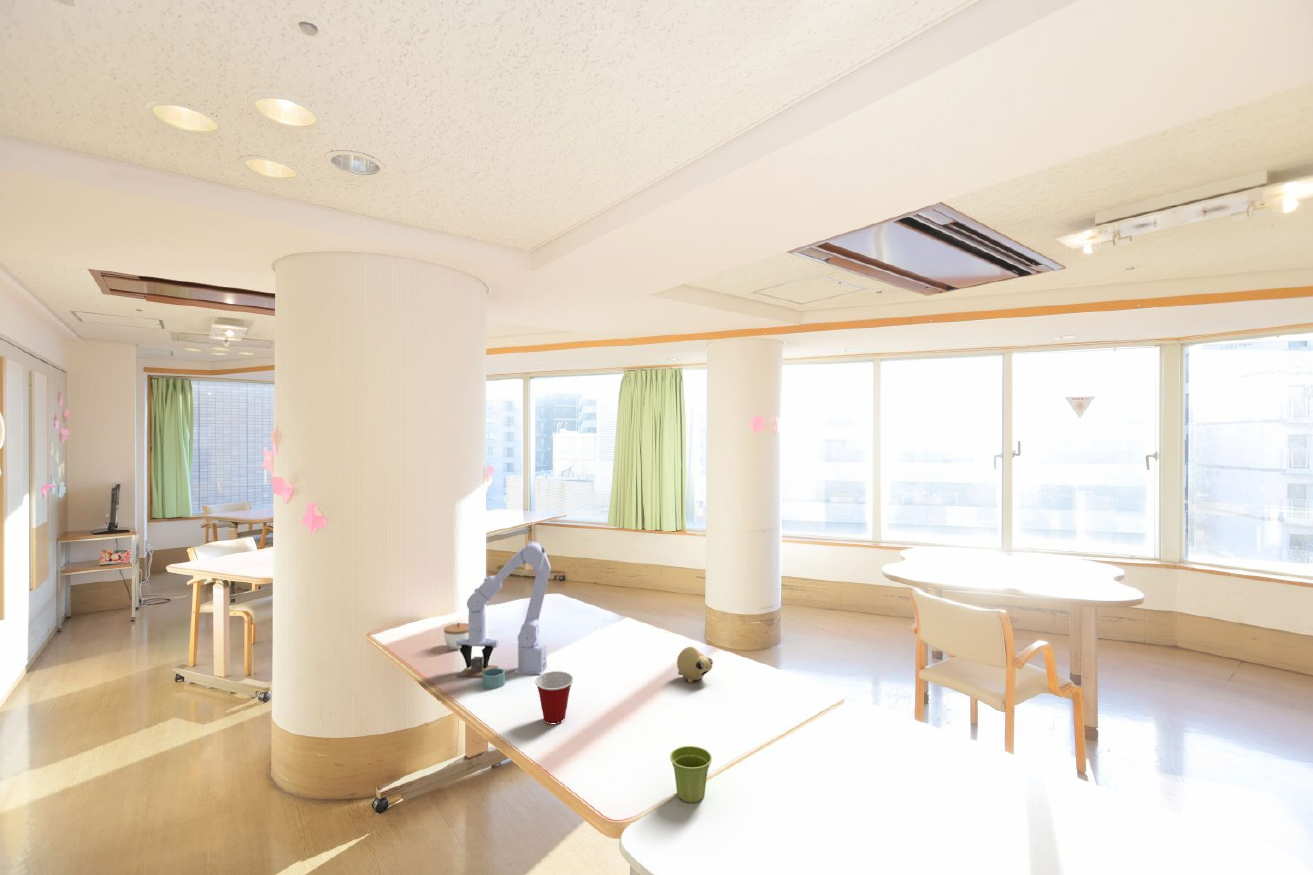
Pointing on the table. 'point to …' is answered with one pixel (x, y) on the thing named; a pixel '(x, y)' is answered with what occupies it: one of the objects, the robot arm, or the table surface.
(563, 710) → the plastic cup
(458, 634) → the lidded jar
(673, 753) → the plant pot
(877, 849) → the table surface
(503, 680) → the bowl
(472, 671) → the cover
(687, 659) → the tan toy animal
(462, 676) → the mat
